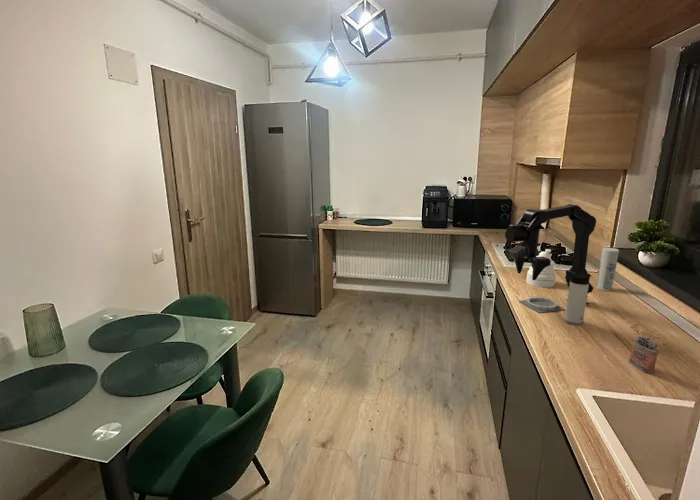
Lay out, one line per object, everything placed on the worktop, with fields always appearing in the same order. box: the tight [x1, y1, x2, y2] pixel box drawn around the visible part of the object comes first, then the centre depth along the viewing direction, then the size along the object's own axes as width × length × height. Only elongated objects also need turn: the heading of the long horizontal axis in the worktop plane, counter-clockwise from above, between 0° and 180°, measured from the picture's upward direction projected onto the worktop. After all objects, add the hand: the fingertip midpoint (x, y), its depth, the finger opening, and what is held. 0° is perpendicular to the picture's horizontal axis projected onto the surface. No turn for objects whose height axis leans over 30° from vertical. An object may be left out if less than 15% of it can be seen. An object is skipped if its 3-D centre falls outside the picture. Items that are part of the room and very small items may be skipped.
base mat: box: [518, 299, 566, 314], centre depth 166 cm, size 13×13×1 cm
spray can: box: [596, 247, 620, 291], centre depth 182 cm, size 6×6×20 cm
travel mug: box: [564, 273, 592, 326], centre depth 147 cm, size 6×7×20 cm
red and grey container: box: [628, 334, 660, 375], centre depth 117 cm, size 8×3×10 cm, turn 5°
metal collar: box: [525, 296, 559, 311], centre depth 165 cm, size 12×12×1 cm
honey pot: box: [526, 248, 556, 289], centre depth 191 cm, size 13×13×18 cm
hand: (526, 276), depth 159 cm, fingers open, 9 cm apart
